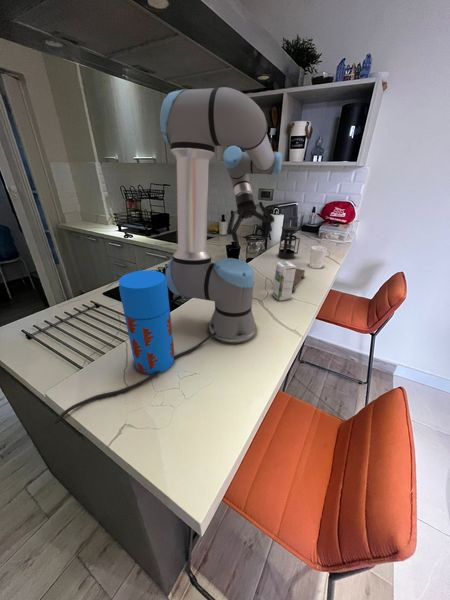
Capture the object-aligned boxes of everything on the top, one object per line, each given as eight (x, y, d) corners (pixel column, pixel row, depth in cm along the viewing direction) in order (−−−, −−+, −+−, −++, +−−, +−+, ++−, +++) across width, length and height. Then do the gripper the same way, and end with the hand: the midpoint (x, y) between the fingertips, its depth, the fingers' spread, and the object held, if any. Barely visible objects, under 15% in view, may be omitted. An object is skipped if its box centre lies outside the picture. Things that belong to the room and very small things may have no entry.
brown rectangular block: (292, 292, 110) (293, 285, 108) (274, 288, 113) (275, 281, 111) (303, 276, 125) (305, 270, 123) (287, 273, 128) (288, 267, 127)
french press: (274, 257, 150) (279, 216, 139) (279, 252, 157) (284, 214, 146) (294, 260, 145) (300, 219, 134) (298, 256, 152) (305, 216, 141)
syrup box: (271, 294, 108) (275, 262, 101) (284, 293, 109) (288, 260, 102) (278, 301, 103) (283, 267, 96) (291, 299, 105) (296, 265, 98)
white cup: (321, 263, 141) (325, 246, 137) (324, 269, 134) (328, 250, 130) (306, 263, 142) (309, 245, 137) (309, 268, 135) (312, 250, 130)
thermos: (158, 343, 78) (148, 266, 66) (182, 358, 72) (175, 277, 60) (127, 362, 71) (108, 279, 59) (150, 381, 65) (135, 293, 53)
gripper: (273, 192, 111) (284, 238, 108) (218, 209, 116) (227, 253, 113) (272, 183, 103) (283, 232, 100) (214, 201, 109) (223, 248, 106)
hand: (254, 243), depth 107 cm, fingers open, 13 cm apart
